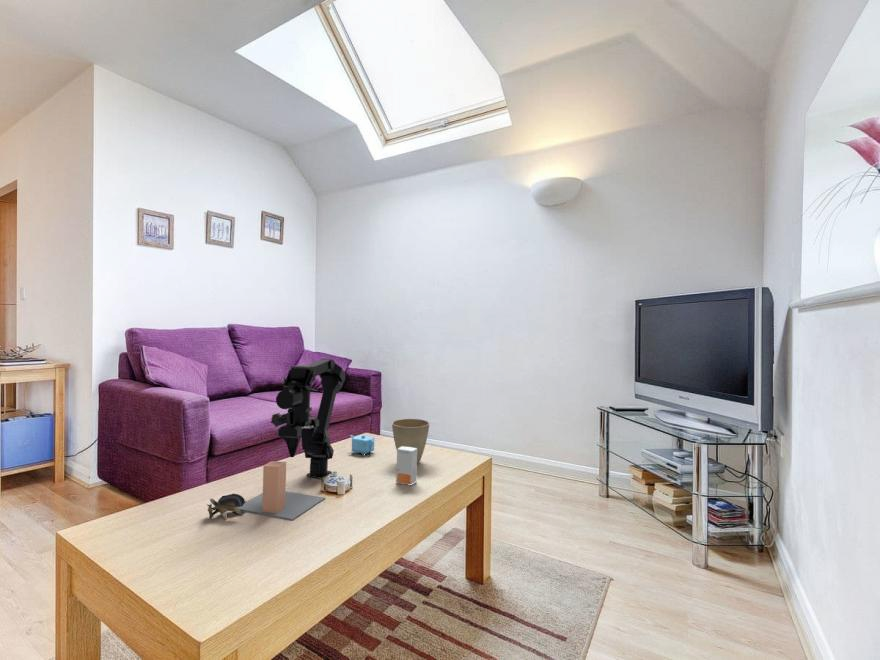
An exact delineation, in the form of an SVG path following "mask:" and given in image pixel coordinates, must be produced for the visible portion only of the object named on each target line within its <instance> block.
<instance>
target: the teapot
mask: <svg viewBox="0 0 880 660" xmlns="http://www.w3.org/2000/svg"><path fill="white" fill-rule="evenodd" d="M349 436H350V437H351V452H353V453H358V454H361V455H362V454H363V455H362V456H365V455H364V454H366V455H367V454H370V453H369V452H371V453H372V452H374V451H375V437H372V436H368V435H365V434H362V435H358V436H354V435H352V434H351V435H349Z"/></svg>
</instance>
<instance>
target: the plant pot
mask: <svg viewBox="0 0 880 660" xmlns="http://www.w3.org/2000/svg"><path fill="white" fill-rule="evenodd" d="M391 426H392V427H391V428H392V435H393V440H394V441H393V442H394V445H395V449H396V451H397V449H398V448H400V447H402V446H405V447H412V448H417V463H418V462H419V461H420V462H421V460H422V456H423V453H424V451H425V447H426V445H427V440H428V436H429V428H430V421H428V420H425V419H419V418H401V419H395V420H393V421H392V422H391ZM420 462H419V463H420Z"/></svg>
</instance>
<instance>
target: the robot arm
mask: <svg viewBox="0 0 880 660" xmlns="http://www.w3.org/2000/svg"><path fill="white" fill-rule="evenodd" d="M317 376H319V378H320V379H321V380H320V384H321V387H322V395H321V399H320V404H319V408H318V413H317V415H316V417H313V416H311V417H310V412H312V410H313V407H312V406H311V405H310V404H311V390H313V389H314V388H313V386H312V384H313V382H315V381H316V377H317ZM345 381H346V373H345V371H344V369H343V367H341V366H340V365H338V364H337V363H336V362H335V360H334V359H332V358H320V359H319V360H317V361H314V362H312V363H309V364H306V365H292V367H290V369H289V371H288V373H287V376H286V377H285V381H284V383H283V385H282V390H281V391H279V392H278V393H277V394H276V397H275V402H276V405H277V407H279V408H280V409H282V410H287V413H286V412H285V413H283V414H281V413H280V412H277V413H275V414H272V416H271V421H270V423H271V424H273V426H274V427H275V428H278V427H279V428H278V429H277V437H279V438H280V439H282V440H284V441H285V443H286V447H287V449H288V453H289V457H290V458H294V457H295V456H296V453H297V450H298V447H299V444H300V442H301V447H302V448H301V449H302V450H303V451H304V457H305V459H309V461H310V462H309V463H310V464H309V472H308V473H306V475H305V476H306V477H312V478H318V479H322V477H323V478H324V476H325V477H326V476H328V475H329V474H332V471H331V470H328V467H329V466H328V463H329V460H331V459H333V457H334V452H335V451H334V449H333V447H332V445H331V438H330V434H329V427H330V422H331V417H332V414H333V410H334V405H335V401H336V396H337V393H339V391H340V390H341V389H342V388H343V387H344V386H343V385H344V383H345Z"/></svg>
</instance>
